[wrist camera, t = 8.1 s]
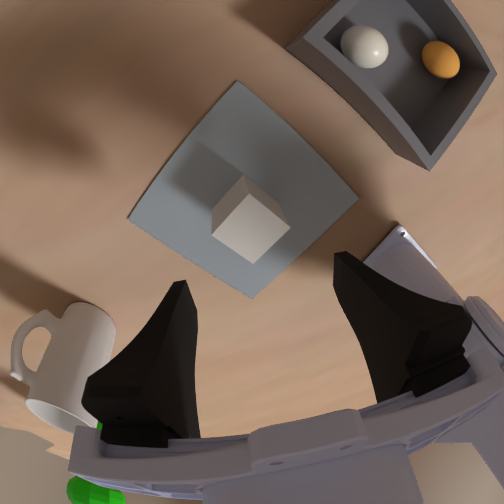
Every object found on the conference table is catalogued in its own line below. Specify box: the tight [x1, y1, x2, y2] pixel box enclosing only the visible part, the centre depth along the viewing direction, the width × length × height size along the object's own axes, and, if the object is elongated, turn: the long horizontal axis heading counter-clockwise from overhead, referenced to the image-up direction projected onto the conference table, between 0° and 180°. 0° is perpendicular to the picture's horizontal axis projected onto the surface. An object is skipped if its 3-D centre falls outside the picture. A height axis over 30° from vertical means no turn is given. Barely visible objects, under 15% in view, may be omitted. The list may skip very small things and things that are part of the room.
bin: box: [285, 0, 497, 171], centre depth 13 cm, size 12×12×4 cm
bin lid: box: [128, 81, 359, 299], centre depth 19 cm, size 13×13×5 cm
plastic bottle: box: [67, 421, 126, 504], centre depth 29 cm, size 10×11×25 cm
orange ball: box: [422, 41, 460, 79], centre depth 13 cm, size 3×3×3 cm
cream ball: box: [340, 25, 388, 68], centre depth 13 cm, size 3×3×3 cm
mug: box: [10, 302, 116, 434], centre depth 20 cm, size 10×7×12 cm, turn 32°
